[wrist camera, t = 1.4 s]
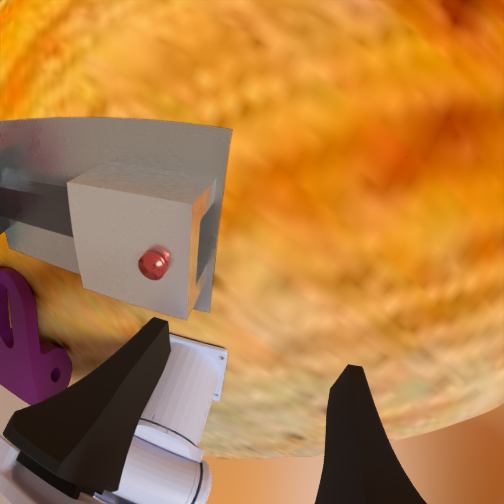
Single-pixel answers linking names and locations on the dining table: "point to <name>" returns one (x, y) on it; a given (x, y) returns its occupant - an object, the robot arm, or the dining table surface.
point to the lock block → (141, 234)
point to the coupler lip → (88, 157)
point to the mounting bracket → (27, 346)
